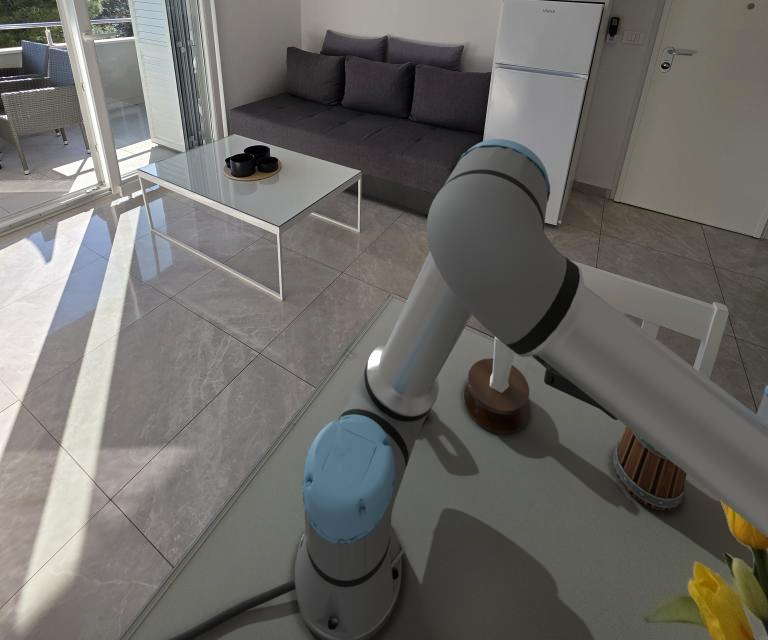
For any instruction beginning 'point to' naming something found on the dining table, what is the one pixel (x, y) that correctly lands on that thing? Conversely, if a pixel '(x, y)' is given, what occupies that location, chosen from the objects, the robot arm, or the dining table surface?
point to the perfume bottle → (501, 366)
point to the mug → (648, 473)
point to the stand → (496, 399)
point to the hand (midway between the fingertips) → (546, 316)
